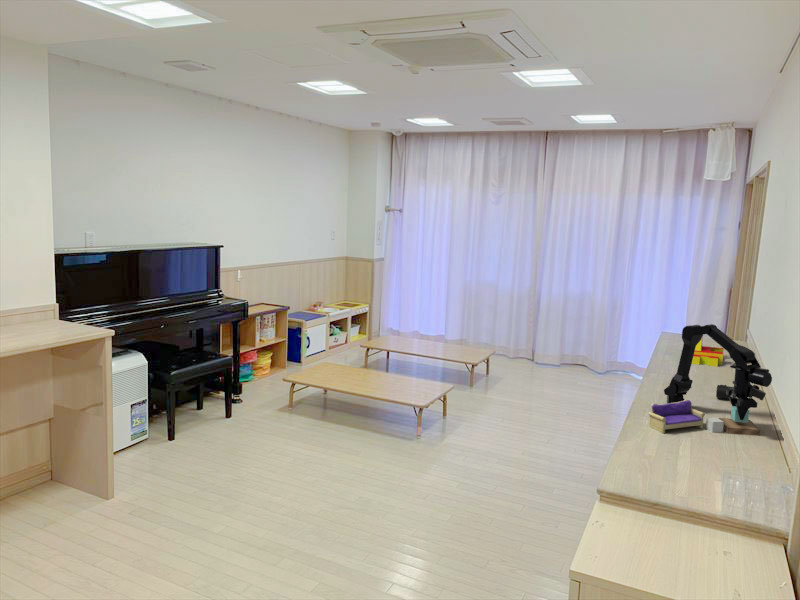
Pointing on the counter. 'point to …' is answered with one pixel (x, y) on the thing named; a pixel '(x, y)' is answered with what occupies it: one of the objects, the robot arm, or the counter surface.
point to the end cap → (722, 392)
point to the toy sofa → (675, 416)
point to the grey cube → (714, 425)
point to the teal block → (736, 416)
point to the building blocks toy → (707, 355)
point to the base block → (740, 427)
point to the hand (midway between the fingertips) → (739, 417)
